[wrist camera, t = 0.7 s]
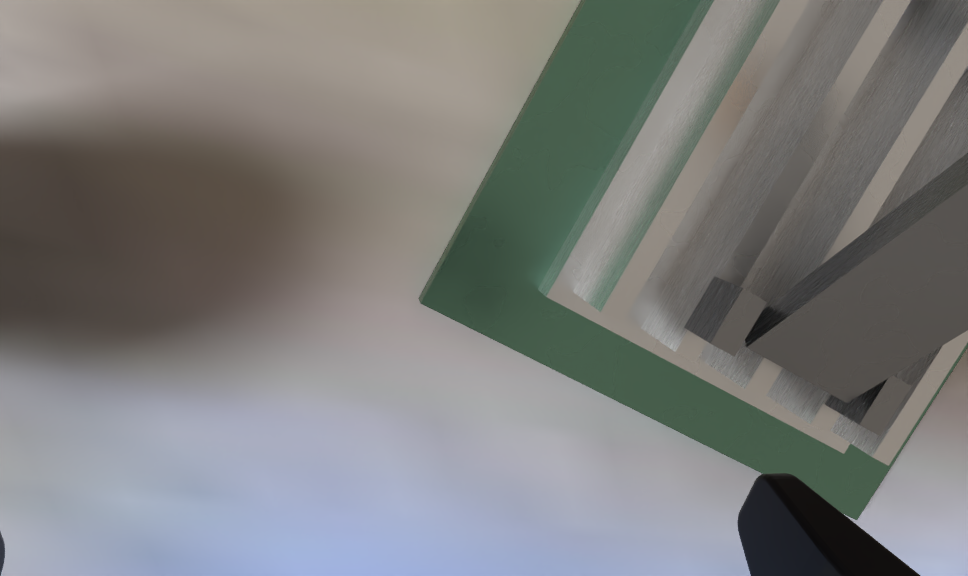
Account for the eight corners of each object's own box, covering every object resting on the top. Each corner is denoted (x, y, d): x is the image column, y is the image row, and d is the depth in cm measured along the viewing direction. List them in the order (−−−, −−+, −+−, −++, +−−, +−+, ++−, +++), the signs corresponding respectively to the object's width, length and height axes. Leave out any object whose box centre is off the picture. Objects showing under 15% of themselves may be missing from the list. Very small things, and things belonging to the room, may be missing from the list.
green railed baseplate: (846, 512, 28) (979, 615, 22) (418, 298, 23) (445, 359, 17) (1157, 22, 26) (1395, -6, 20) (759, -327, 21) (920, -498, 15)
